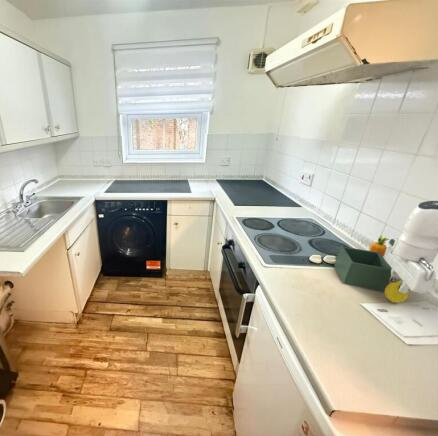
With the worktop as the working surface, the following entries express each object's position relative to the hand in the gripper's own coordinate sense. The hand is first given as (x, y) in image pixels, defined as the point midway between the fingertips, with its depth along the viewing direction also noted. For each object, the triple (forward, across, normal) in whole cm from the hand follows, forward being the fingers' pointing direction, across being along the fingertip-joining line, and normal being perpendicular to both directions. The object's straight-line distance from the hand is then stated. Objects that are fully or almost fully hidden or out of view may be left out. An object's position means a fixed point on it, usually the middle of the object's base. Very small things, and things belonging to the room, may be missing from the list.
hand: (397, 286), depth 80 cm
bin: (+7, +13, +6) cm, 16 cm away
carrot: (+7, +25, -2) cm, 26 cm away
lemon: (+7, 0, -1) cm, 7 cm away
